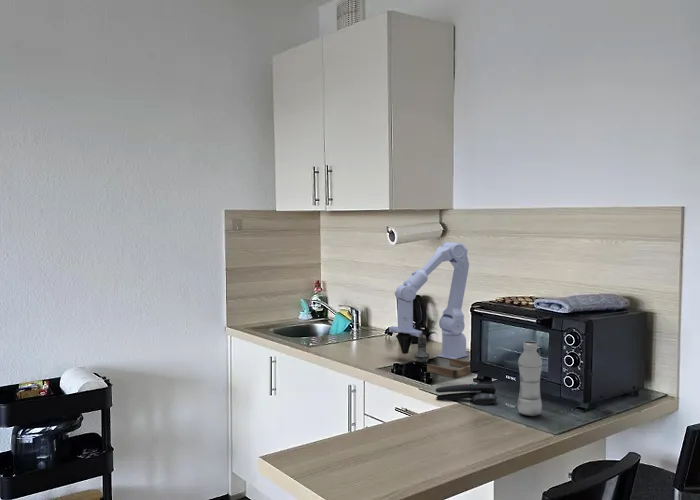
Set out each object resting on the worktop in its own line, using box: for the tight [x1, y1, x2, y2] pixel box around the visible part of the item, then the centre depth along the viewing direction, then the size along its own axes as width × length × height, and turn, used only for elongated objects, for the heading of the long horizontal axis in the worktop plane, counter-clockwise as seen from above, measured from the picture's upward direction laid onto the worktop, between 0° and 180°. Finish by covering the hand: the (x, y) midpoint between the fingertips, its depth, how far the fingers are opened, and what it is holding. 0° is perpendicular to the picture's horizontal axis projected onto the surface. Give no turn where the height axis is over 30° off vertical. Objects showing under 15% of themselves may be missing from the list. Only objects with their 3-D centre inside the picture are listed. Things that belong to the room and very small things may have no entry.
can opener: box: [435, 382, 498, 406], centre depth 185 cm, size 18×7×6 cm, turn 77°
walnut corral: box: [426, 358, 472, 379], centre depth 220 cm, size 14×12×2 cm
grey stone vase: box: [413, 332, 431, 365], centre depth 229 cm, size 6×6×12 cm
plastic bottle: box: [517, 340, 543, 417], centre depth 171 cm, size 6×7×20 cm
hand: (405, 353), depth 235 cm, fingers closed
